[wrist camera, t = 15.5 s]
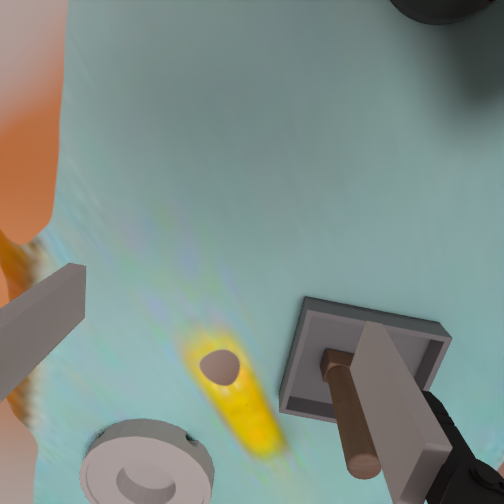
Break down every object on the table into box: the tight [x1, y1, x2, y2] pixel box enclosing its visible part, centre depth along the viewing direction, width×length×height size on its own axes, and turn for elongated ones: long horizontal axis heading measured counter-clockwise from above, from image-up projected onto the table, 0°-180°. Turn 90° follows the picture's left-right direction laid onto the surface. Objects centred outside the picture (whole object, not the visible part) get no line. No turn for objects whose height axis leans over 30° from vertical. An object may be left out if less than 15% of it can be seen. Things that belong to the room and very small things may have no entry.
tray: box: [279, 296, 452, 423], centre depth 52 cm, size 18×20×4 cm
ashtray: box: [79, 419, 215, 504], centre depth 62 cm, size 23×23×4 cm
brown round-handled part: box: [320, 349, 381, 479], centre depth 44 cm, size 4×11×18 cm, turn 78°
